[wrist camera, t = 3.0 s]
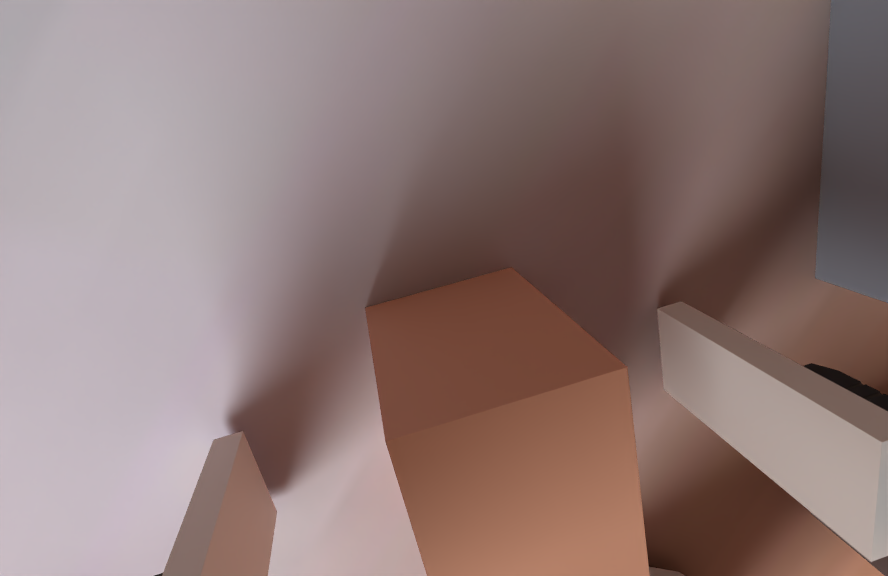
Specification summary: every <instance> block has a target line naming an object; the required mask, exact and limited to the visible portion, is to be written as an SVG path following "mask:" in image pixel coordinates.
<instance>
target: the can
mask: <svg viewBox="0 0 888 576" xmlns="http://www.w3.org/2000/svg"><path fill="white" fill-rule="evenodd" d="M649 575H650V576H685V575H683V574H682V573H680V572H678V571H672V570H666V569H660V568H654V567H649Z"/></svg>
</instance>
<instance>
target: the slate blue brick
mask: <svg viewBox="0 0 888 576" xmlns="http://www.w3.org/2000/svg"><path fill="white" fill-rule="evenodd" d="M815 278H816V279H819V280H822V281H825V282H828V283H831V284H834V285H837V286H840V287H842V288H845V289H848V290H851V291H854V292H857V293H860V294H863V295H866V296H869V297H872V298H875V299H878V300H881V301H884V302H887V303H888V0H831V12H830V30H829V47H828V64H827V82H826V99H825V116H824V133H823V151H822V168H821V185H820V202H819V220H818V237H817V254H816V271H815Z"/></svg>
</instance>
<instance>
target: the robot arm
mask: <svg viewBox="0 0 888 576" xmlns="http://www.w3.org/2000/svg"><path fill="white" fill-rule="evenodd" d="M657 313H658V326H659V338H660V350H661V362H662V375H663V387H664V390H665V391H666V392H667V393H668V394H670V395H671V396H672V397H673V398H674V399H676V400H677V401H678V402H679V403H680V404H682V405H683V406H684V407H685V408H686V409H688V410H689V411H690V412H691V413H692V414H694V415H695V416H696V417H697V418H698V419H700V420H701V421H702V422H703V423H704V424H706V425H707V426H708V427H709V428H710V429H712V430H713V431H714V432H715V433H716V434H718V435H719V436H720V437H721V438H722V439H724V440H725V441H726V442H727V443H728V444H730V445H731V446H732V447H733V448H734V449H736V450H737V451H738V452H739V453H741V454H742V455H743V456H744V457H745V458H747V459H748V460H749V461H750V462H751V463H753V464H754V465H755V466H756V467H757V468H759V469H760V470H761V471H762V472H763V473H765V474H766V475H767V476H768V477H769V478H771V479H772V480H773V481H774V482H775V483H777V484H778V485H779V486H780V487H781V488H783V489H784V490H785V491H786V492H787V493H789V494H790V495H791V496H792V497H793V498H795V499H796V500H797V501H798V502H799V503H801V504H802V505H803V506H804V507H805V508H807V509H808V510H809V511H810V512H811V513H813V514H814V515H815V516H816V517H817V518H819V519H820V520H821V521H822V522H824V523H825V524H826V525H827V526H828V527H830V528H831V529H832V530H833V531H834V532H836V533H837V534H838V535H839V536H840V537H842V538H843V539H844V540H845V541H846V542H848V543H849V544H850V545H851V546H852V547H854V548H855V549H856V550H857V551H858V552H860V553H861V554H862V555H863V556H864V557H866V558H867V559H868V560H869V561H870V562H872V561H875V560H878V559H881V558H883V557H886V556H888V395H886V394H883V395H882V394H881V393H880V391H878V390H876V389H874V388H872V387H870V386H868V385H866V384H865V385H862V383H861V382H860V381H858V380H856V379H854V378H852V377H850V376H848V375H846V374H844V373H842V372H840V371H838V370H834V369H830V368H827V367H823V366H819V365H816V364H812V363H811V364H808V365H805V366H802V365H800V364H798V363H796V362H794V361H792V360H790V359H789V358H787V357H785V356H783V355H781V354H779V353H777V352H775V351H774V350H772V349H770V348H768V347H766V346H764V345H762V344H760V343H759V342H757V341H755V340H753V339H751V338H749V337H747V336H745V335H744V334H742V333H740V332H738V331H736V330H734V329H732V328H730V327H729V326H727V325H725V324H723V323H721V322H719V321H717V320H715V319H714V318H712V317H710V316H708V315H706V314H704V313H702V312H700V311H699V310H697V309H695V308H693V307H691V306H689V305H687V304H685V303H684V302H682V301H680V302H677V303H674V304H670V305H667V306H664V307H660V308H657ZM276 515H277V510H276V508H275V506H274V503H273V501H272V499H271V496H270V494H269V491H268V489H267V487H266V484H265V482H264V480H263V477H262V475H261V473H260V470H259V468H258V465H257V463H256V461H255V458H254V456H253V454H252V451H251V449H250V446H249V444H248V442H247V439H246V437H245V435H244V432H243V431H241V432H238V433H235V434H231V435H228V436H225V437H221V438H218V439H214V440H213V443H212V445H211V448H210V451H209V453H208V456H207V459H206V461H205V464H204V467H203V469H202V472H201V474H200V477H199V480H198V482H197V485H196V488H195V490H194V493H193V496H192V498H191V501H190V504H189V506H188V509H187V512H186V514H185V517H184V519H183V522H182V525H181V527H180V530H179V533H178V535H177V538H176V541H175V543H174V546H173V549H172V551H171V554H170V557H169V559H168V562H167V564H166V567H165V570H164V572H163V573H161V574H158V575H155V576H268V569H269V562H270V556H271V549H272V542H273V535H274V529H275V522H276Z"/></svg>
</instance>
